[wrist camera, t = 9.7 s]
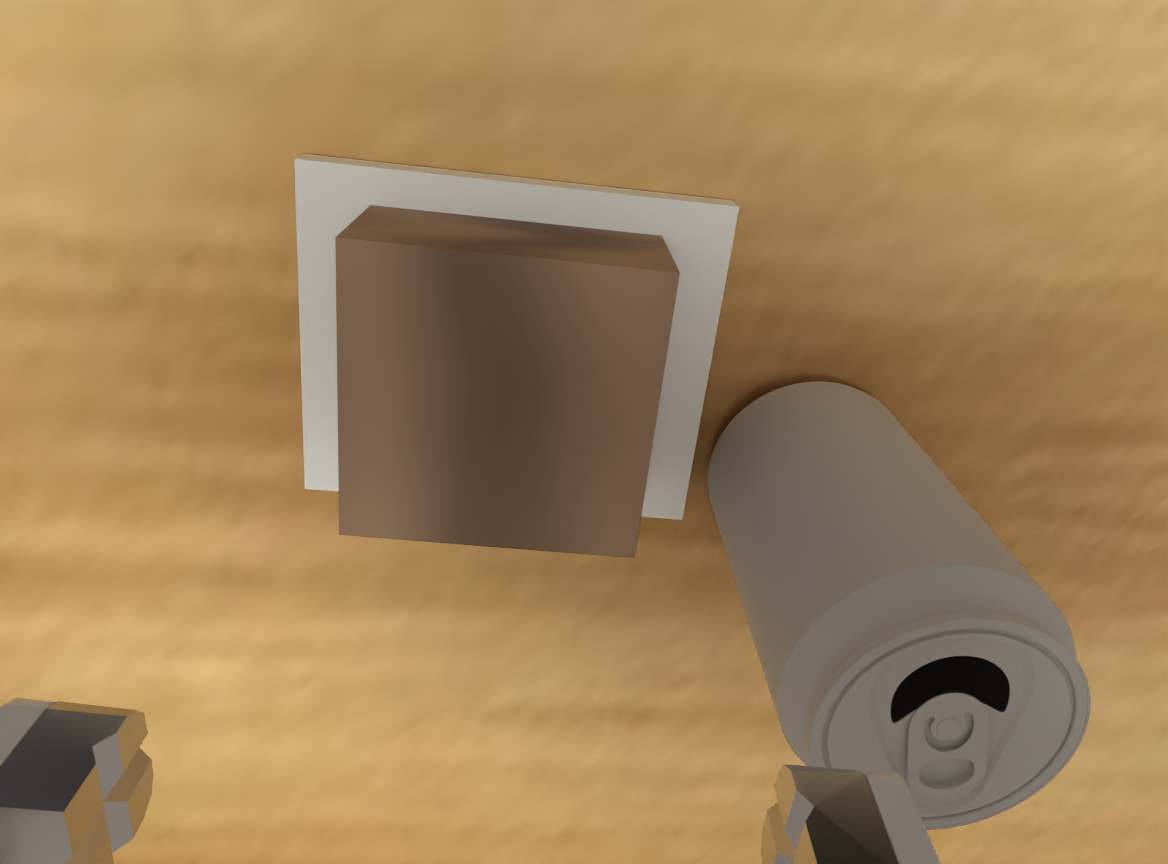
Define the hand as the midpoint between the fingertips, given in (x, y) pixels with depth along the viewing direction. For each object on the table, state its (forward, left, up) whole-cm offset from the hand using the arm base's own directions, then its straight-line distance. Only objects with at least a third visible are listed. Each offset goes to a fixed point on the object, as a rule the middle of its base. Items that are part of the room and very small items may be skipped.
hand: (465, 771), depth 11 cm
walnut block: (0, 0, -16) cm, 16 cm away
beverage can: (-9, +3, -17) cm, 20 cm away
